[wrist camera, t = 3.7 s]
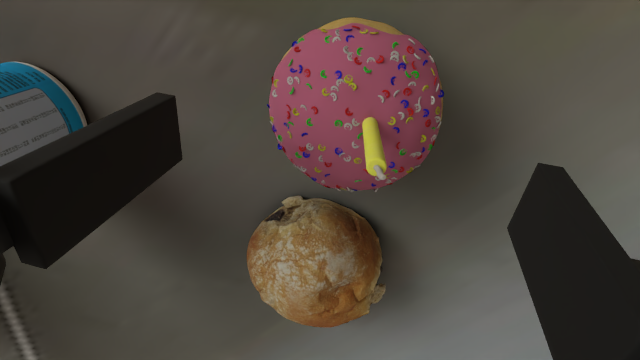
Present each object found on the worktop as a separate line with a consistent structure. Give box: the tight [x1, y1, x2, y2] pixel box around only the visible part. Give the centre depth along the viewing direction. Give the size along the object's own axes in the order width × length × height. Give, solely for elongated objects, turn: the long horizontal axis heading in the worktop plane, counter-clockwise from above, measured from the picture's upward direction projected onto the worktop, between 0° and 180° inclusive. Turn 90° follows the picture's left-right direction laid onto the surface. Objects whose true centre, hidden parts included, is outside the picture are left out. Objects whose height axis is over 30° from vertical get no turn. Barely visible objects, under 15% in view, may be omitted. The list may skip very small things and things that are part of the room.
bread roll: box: [247, 195, 386, 327], centre depth 26 cm, size 10×10×8 cm
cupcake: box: [267, 17, 444, 192], centre depth 16 cm, size 9×8×12 cm
